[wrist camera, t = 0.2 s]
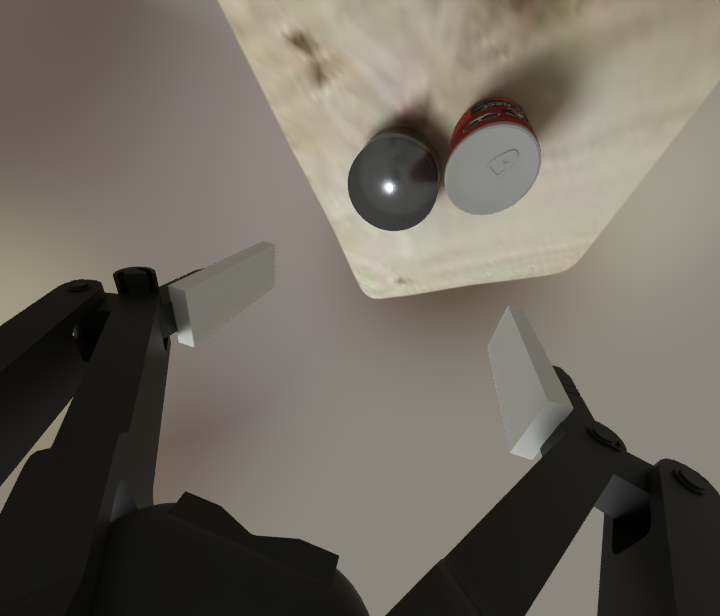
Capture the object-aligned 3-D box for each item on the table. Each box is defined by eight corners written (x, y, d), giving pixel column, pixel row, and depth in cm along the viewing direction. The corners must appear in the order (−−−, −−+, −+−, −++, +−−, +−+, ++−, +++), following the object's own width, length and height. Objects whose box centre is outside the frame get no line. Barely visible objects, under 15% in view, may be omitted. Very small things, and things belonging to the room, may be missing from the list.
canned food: (543, 117, 30) (565, 151, 22) (490, 184, 36) (494, 229, 28) (481, 79, 29) (483, 103, 22) (437, 155, 35) (427, 193, 28)
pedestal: (406, 104, 32) (398, 114, 29) (457, 182, 37) (456, 199, 33) (342, 166, 39) (330, 181, 36) (392, 226, 44) (385, 244, 40)
